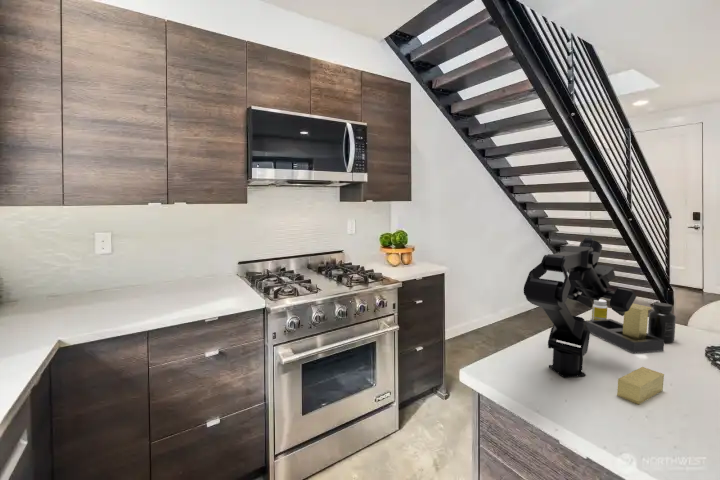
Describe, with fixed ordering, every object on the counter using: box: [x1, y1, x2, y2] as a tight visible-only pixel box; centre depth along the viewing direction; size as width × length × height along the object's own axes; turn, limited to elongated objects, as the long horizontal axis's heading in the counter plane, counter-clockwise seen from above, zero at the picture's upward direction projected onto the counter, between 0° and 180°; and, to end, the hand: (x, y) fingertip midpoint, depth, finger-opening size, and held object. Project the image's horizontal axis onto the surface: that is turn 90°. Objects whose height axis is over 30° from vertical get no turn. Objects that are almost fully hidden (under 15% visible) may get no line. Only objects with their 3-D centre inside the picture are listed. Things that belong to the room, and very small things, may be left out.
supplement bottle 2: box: [647, 302, 677, 344], centre depth 119 cm, size 7×7×12 cm
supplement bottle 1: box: [591, 298, 608, 320], centre depth 137 cm, size 5×5×8 cm
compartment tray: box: [585, 318, 665, 354], centre depth 120 cm, size 10×20×4 cm, turn 8°
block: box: [616, 366, 665, 405], centre depth 87 cm, size 12×4×4 cm, turn 119°
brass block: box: [622, 302, 652, 341], centre depth 114 cm, size 6×6×12 cm
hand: (606, 310), depth 110 cm, fingers open, 9 cm apart
